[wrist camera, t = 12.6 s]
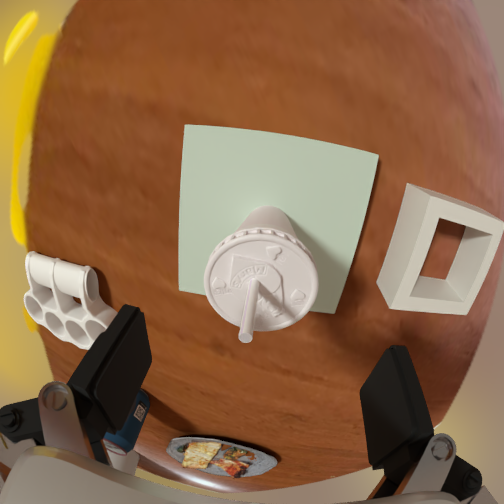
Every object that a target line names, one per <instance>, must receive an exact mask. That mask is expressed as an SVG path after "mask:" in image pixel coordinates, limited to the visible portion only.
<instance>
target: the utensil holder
mask: <svg viewBox="0 0 504 504" xmlns="http://www.w3.org/2000/svg"><path fill="white" fill-rule="evenodd" d="M107 452H108V455H109V457H110V460H111V462H112V465H113V467H114V468H115V469H117V470H120V471H122V472H125V473H128V474H131V475H133V476H134V475H135V471H136V468H137V464H138V461H139V455H138V453H136V452H135V451H134V450H131V451H130V452H128V453H127V455H126V456H121V455H117V454H115V453H112V452H110V451H108V450H107Z"/></svg>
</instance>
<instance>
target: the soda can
mask: <svg viewBox="0 0 504 504" xmlns="http://www.w3.org/2000/svg"><path fill="white" fill-rule="evenodd" d="M149 408H150V402H149V398H148V395H147V394H146V393H145V392H144V391H143V390H142V389H141V388H140V389H139V392H138V394H137V396H136V398H135V400H134V403H133V405H132V407H131V410H130V412H129V414H128V416H127V419H126V421H125V423H124V426H123V428H122V429H121V430H120V431H118V430H117V432H116V435H113V434H110V433H108V432H106V434H105V436H104V438H103V441H104V444H105V447H106V449H107V450H108V451H110V452H112V453H115V454H117V455H121V456H126V455H127V453H128V452H130V451H131V450H132V449H133V448H134V446H135V443H136V440H137V438H138V435H139V433H140V430H141V428H142V425H143V423H144V420H145V418H146V415H147V413H148V410H149Z"/></svg>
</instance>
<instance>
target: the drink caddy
mask: <svg viewBox="0 0 504 504" xmlns="http://www.w3.org/2000/svg"><path fill="white" fill-rule="evenodd" d="M439 218H442V219H446V220H449V221H452V222H456V223H459V224H462V225H465V226H466V228H465V231H464V234H463V237H462V240H461V243H460V245H459V248H458V251H457V253H456V256H455V259H454V261H453V264H452V266H451V268H450V271H449V273H448V275H447V278H446V280H443V279H437V278H431V277H424V276H418V275H419V273H420V271H421V268H422V266H423V263H424V260H425V258H426V255H427V252H428V250H429V247H430V244H431V241H432V238H433V235H434V232H435V229H436V226H437V223H438V220H439ZM503 230H504V222H503V221H501V220H500V219H498V218H497V217H495V216H493V215H492V214H490V213H488V212H487V211H485V210H483V209H481V208H479V207H477V206H474V205H472V204H469V203H466V202H464V201H461V200H458V199H455V198H453V197H450V196H447V195H444V194H441V193H438V192H435V191H432V190H429V189H426V188H423V187H420V186H416V185H413V184H410V183H407V185H406V189H405V193H404V197H403V201H402V205H401V208H400V212H399V216H398V219H397V222H396V226H395V229H394V232H393V236H392V239H391V242H390V245H389V248H388V251H387V254H386V257H385V260H384V263H383V266H382V268H381V271H380V274H379V277H378V279H377V282H376V283H377V285H378V287H379V289H380V290H381V292H382V294H383V296H384V298H385V300H386V302H387V304H388V306H389V308H390V309H397V310H408V311H419V312H432V313H445V314H460V315H467V313H468V311H469V309H470V307H471V306H472V304H473V302H474V300H475V298H476V296H477V294H478V292H479V290H480V288H481V285H482V283H483V281H484V279H485V277H486V274H487V272H488V270H489V268H490V265H491V263H492V260H493V258H494V255H495V253H496V250H497V248H498V245H499V242H500V239H501V236H502V233H503Z"/></svg>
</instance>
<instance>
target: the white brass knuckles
mask: <svg viewBox="0 0 504 504" xmlns="http://www.w3.org/2000/svg"><path fill="white" fill-rule="evenodd" d="M25 267H26V272H27V278H28V282H29V285H30V290H29V291H27V292H26V294H25V295H24V304H25V307H26V309H27V311H28V313H29V314H30V316H31V317H32V318H33V319H34V320H35V321H36V322H37V323H38V324H41V325H43V326H45V327H46V328H48V329H49V330H50V331H51V332H52V333H53V334H54V335H55V336H56V337H58V338H59V339H61V340H62V341H68V342H71V343H73V344H75V345H76V346H78V347H79V348H82V349H87V350H89V349H90V347H91V346H92V344H93V343H94V341H95V340H96V338H97V337H98V336H99V334H100V333H102V332H105V331H106V329H107V328H108V326H109V325H110V323H111V322H112V320H113V319H114V318H115V316H116V315H117V312H116V311H115V310H114V309H113V308H112V307H110V306H108V305H107V304H105V303H104V301H103V300H102V299H101V297H100V296H99V284H98V278H97V275H96V272H95V271H94V269H92V268H91V267H90V266H85V267H84V266H81V265H77V264H73V263H70V262H66V261H62V260H60V258H56V259H55V258H52V257H48V256H45V255H41V254H38V253H36V252H35V251H32V252H29V253H28V254H27V256H26V261H25ZM48 287H49V288H51V289H52V292H53V293H52V292H51V290H50V289H49V288H48ZM73 296H74V297H77V298H80V299H81V302H82V305H81V304H78V303H76V302H75V301H74V299H73Z"/></svg>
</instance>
